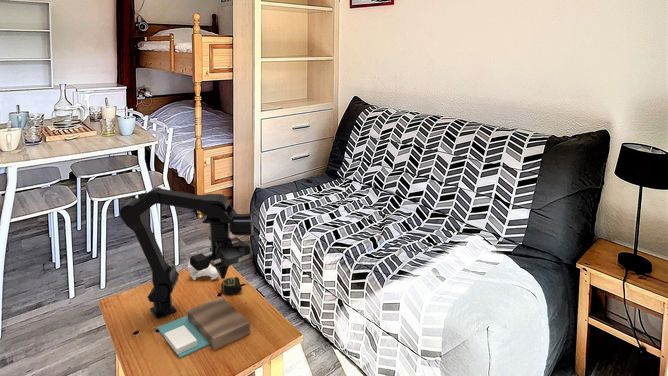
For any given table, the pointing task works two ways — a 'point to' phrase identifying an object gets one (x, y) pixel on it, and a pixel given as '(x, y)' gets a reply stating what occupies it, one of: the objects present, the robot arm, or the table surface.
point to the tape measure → (231, 285)
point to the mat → (184, 321)
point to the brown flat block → (218, 322)
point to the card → (180, 339)
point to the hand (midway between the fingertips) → (222, 278)
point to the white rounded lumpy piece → (202, 272)
